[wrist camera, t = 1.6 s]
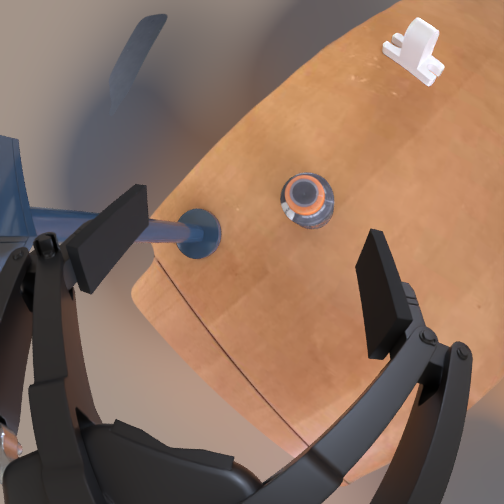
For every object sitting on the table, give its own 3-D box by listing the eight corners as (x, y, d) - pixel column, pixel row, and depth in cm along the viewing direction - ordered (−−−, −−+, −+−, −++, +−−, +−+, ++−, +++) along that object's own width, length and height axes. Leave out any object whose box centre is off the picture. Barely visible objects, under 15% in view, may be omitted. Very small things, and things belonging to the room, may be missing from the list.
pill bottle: (298, 234, 39) (283, 231, 28) (285, 194, 39) (266, 175, 28) (339, 222, 37) (341, 213, 26) (326, 181, 37) (322, 157, 26)
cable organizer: (429, 87, 31) (445, 53, 22) (380, 51, 33) (385, 13, 24) (442, 72, 30) (459, 39, 21) (395, 38, 32) (402, 1, 23)
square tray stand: (193, 272, 43) (-45, 316, 9) (167, 228, 45) (-57, 216, 11) (234, 240, 41) (-33, 236, 7) (204, 195, 43) (-32, 127, 8)
